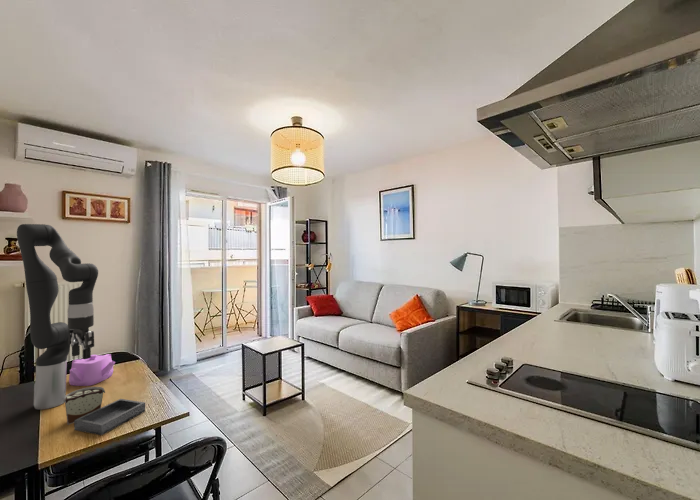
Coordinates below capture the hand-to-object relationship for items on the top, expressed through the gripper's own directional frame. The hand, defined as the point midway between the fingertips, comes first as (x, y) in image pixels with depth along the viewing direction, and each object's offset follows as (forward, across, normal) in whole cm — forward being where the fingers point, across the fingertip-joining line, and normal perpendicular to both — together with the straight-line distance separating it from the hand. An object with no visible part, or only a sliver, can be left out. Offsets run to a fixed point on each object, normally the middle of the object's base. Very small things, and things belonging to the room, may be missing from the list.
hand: (81, 357), depth 119 cm
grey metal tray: (+23, +13, +4) cm, 27 cm away
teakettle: (+22, -36, +19) cm, 47 cm away
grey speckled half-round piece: (+23, +1, 0) cm, 23 cm away
